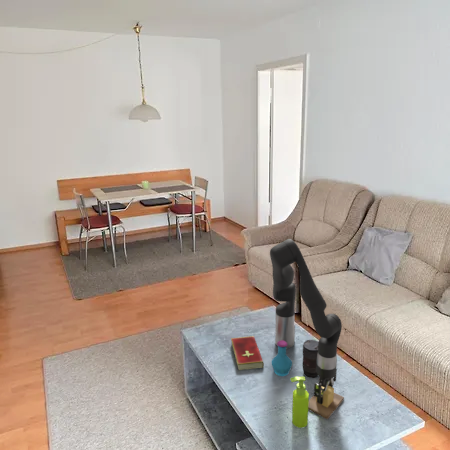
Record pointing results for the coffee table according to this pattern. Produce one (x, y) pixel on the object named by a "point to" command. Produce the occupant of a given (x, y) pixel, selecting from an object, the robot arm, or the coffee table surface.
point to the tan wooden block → (327, 396)
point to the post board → (323, 410)
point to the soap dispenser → (300, 403)
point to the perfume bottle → (281, 360)
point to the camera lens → (310, 358)
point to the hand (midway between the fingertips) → (324, 397)
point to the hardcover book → (247, 353)
